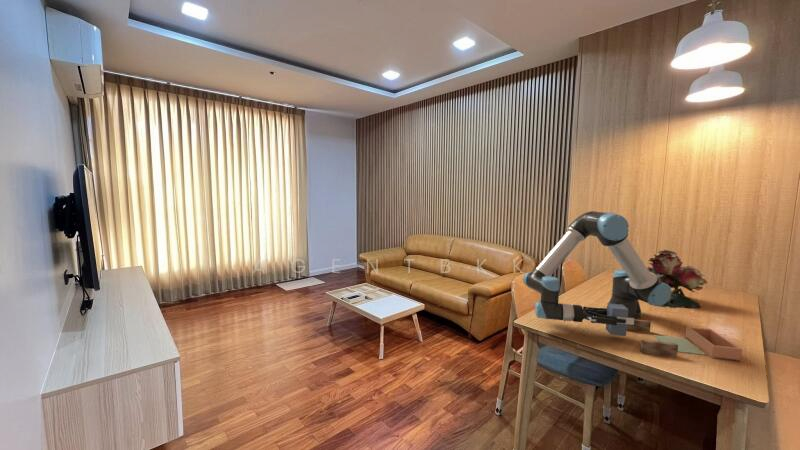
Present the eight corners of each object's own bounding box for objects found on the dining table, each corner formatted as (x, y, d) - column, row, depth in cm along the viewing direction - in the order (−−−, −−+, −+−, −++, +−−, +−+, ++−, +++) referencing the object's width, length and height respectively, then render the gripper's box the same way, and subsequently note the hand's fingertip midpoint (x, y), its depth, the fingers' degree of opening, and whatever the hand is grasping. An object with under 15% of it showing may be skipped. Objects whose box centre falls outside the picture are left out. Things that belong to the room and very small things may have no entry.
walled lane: (648, 331, 151) (649, 320, 150) (676, 357, 128) (678, 345, 127) (618, 328, 154) (619, 317, 154) (641, 353, 131) (642, 341, 131)
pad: (685, 339, 143) (685, 338, 143) (705, 355, 130) (705, 354, 130) (653, 335, 146) (653, 335, 146) (670, 351, 133) (670, 350, 133)
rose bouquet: (711, 308, 180) (718, 255, 176) (659, 308, 180) (664, 255, 176) (673, 292, 205) (678, 246, 201) (627, 292, 205) (631, 246, 201)
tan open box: (709, 340, 142) (711, 329, 142) (740, 361, 125) (741, 349, 125) (685, 337, 145) (686, 326, 144) (711, 358, 128) (713, 346, 127)
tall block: (620, 330, 146) (622, 304, 144) (626, 336, 140) (628, 309, 139) (605, 328, 147) (607, 303, 146) (610, 334, 142) (612, 308, 140)
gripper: (566, 312, 157) (621, 317, 151) (576, 329, 139) (639, 336, 133) (567, 297, 156) (622, 302, 150) (578, 312, 138) (640, 318, 132)
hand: (630, 318), depth 142 cm, fingers closed on tall block, 6 cm apart
